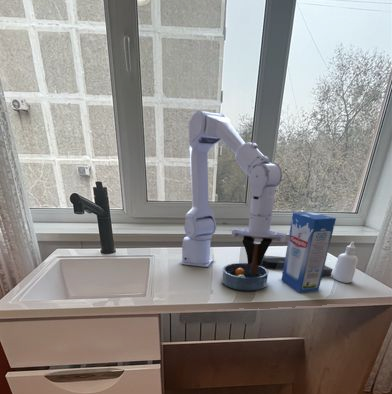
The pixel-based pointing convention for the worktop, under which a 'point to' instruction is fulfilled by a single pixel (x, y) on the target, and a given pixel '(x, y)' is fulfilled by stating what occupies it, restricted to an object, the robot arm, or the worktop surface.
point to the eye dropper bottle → (346, 265)
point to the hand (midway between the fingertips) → (254, 264)
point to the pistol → (278, 263)
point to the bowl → (246, 282)
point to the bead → (239, 271)
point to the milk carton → (307, 250)
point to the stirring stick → (255, 258)
